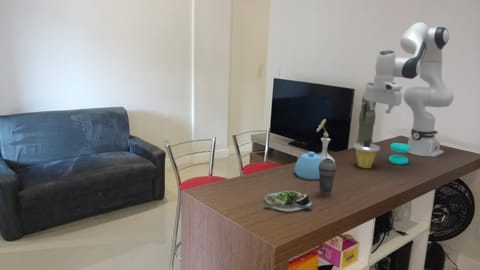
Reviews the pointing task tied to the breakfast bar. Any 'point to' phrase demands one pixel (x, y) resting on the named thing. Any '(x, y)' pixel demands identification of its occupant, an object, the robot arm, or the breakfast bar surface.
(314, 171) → the sugar bowl
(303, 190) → the breakfast bar surface
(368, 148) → the steel lid
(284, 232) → the breakfast bar surface
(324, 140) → the flower in vase
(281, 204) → the salad plate
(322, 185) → the beverage cup
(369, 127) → the olive green textured cylinder
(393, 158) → the donuts
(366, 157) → the plant pot
